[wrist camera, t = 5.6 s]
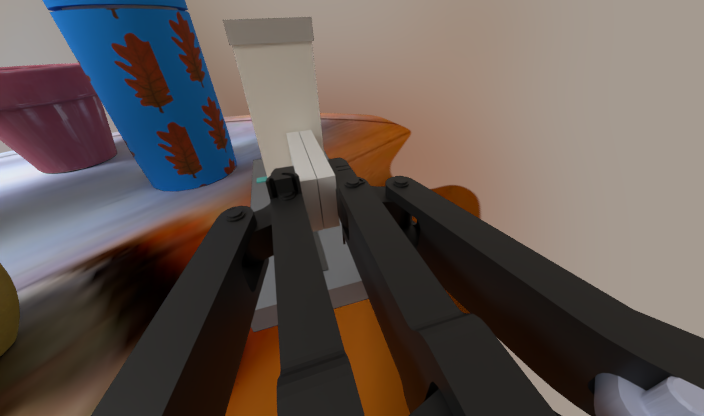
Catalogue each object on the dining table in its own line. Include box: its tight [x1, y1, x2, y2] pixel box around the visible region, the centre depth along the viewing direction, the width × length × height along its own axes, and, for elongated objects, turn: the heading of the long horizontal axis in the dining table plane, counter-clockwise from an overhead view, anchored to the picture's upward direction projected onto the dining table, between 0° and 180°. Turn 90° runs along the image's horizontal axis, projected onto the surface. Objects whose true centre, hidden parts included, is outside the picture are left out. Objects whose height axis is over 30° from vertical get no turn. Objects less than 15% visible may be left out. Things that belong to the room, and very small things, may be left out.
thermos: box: [43, 0, 237, 191], centre depth 27 cm, size 11×11×25 cm
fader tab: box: [223, 17, 324, 178], centre depth 17 cm, size 3×4×13 cm
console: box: [250, 151, 368, 332], centre depth 24 cm, size 22×9×2 cm, turn 17°
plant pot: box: [0, 63, 117, 173], centre depth 35 cm, size 14×14×13 cm
